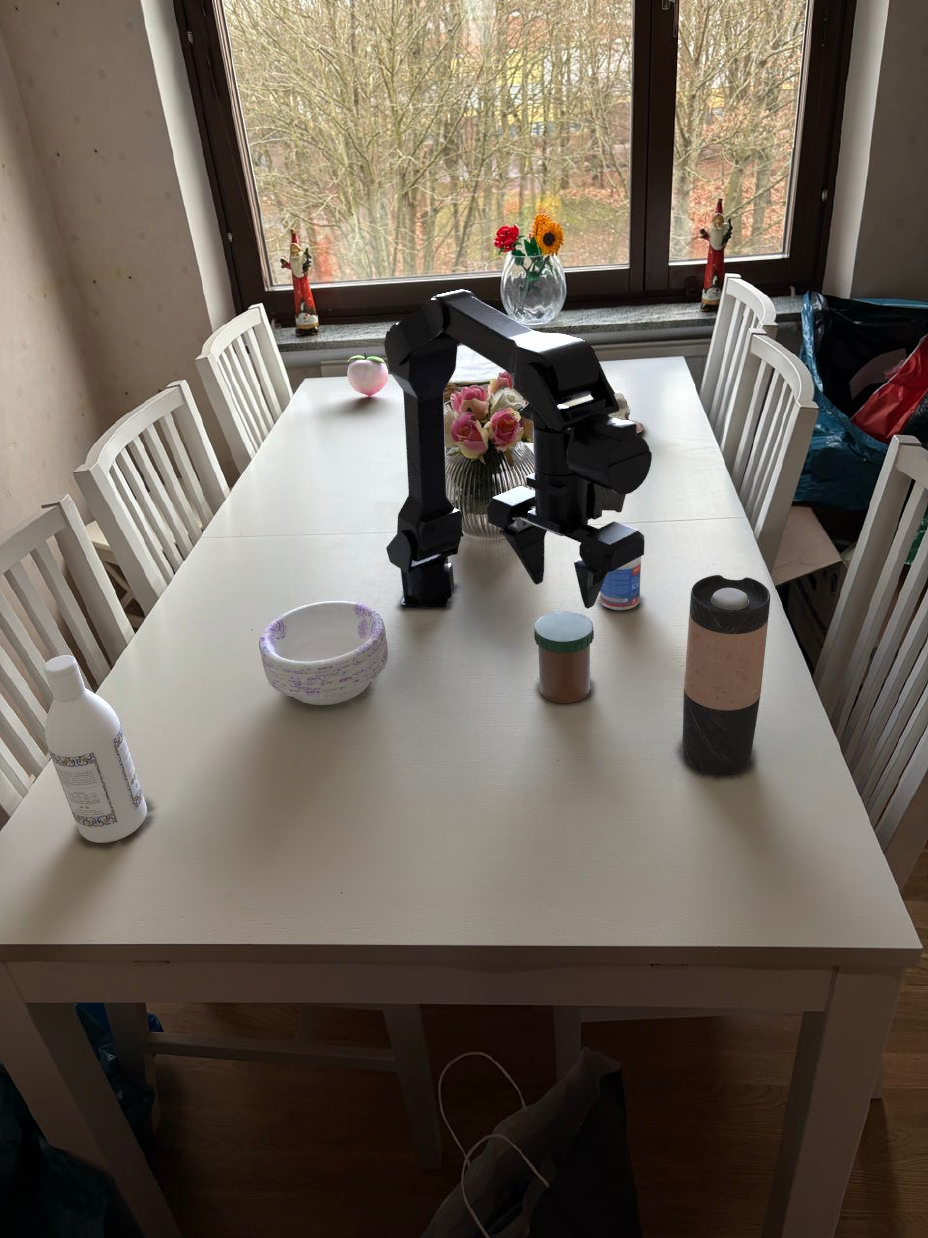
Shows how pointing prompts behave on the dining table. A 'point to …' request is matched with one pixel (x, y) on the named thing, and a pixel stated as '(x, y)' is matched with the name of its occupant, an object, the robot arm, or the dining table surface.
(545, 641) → the jar lid
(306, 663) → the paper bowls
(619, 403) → the skull
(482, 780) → the dining table surface
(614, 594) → the pill bottle
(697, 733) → the travel mug
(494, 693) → the dining table surface
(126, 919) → the dining table surface
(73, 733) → the bath foam
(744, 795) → the dining table surface
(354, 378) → the decorative fruit
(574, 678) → the honey jar
